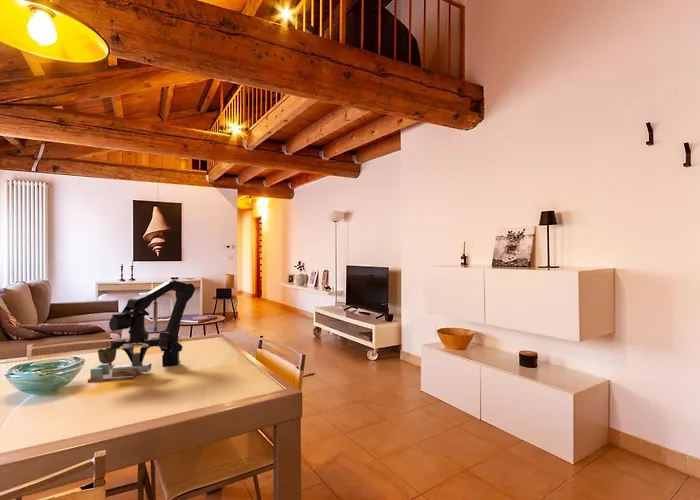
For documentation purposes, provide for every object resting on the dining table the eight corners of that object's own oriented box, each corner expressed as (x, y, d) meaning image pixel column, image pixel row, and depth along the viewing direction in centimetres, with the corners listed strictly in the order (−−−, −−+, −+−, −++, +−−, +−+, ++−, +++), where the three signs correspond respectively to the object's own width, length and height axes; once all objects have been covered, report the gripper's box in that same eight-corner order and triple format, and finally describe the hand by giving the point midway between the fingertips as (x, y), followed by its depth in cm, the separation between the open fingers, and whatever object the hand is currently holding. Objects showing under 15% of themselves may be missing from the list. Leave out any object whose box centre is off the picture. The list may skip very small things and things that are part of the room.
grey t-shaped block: (151, 369, 164) (151, 351, 165) (148, 372, 161) (148, 353, 161) (116, 371, 162) (116, 353, 162) (112, 374, 158) (112, 355, 158)
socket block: (109, 371, 163) (109, 363, 163) (101, 377, 155) (101, 368, 155) (99, 372, 162) (99, 364, 162) (90, 377, 155) (90, 369, 155)
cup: (101, 369, 169) (101, 351, 169) (95, 366, 174) (95, 349, 174) (119, 365, 175) (119, 348, 175) (112, 362, 180) (112, 346, 180)
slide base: (143, 369, 168) (143, 363, 168) (132, 379, 155) (132, 372, 155) (102, 372, 165) (102, 365, 165) (87, 382, 152) (87, 375, 152)
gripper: (165, 322, 171) (165, 356, 171) (121, 324, 168) (121, 359, 168) (158, 327, 161) (158, 363, 160) (110, 329, 157) (110, 366, 157)
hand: (137, 362), depth 162 cm, fingers closed on grey t-shaped block, 3 cm apart
